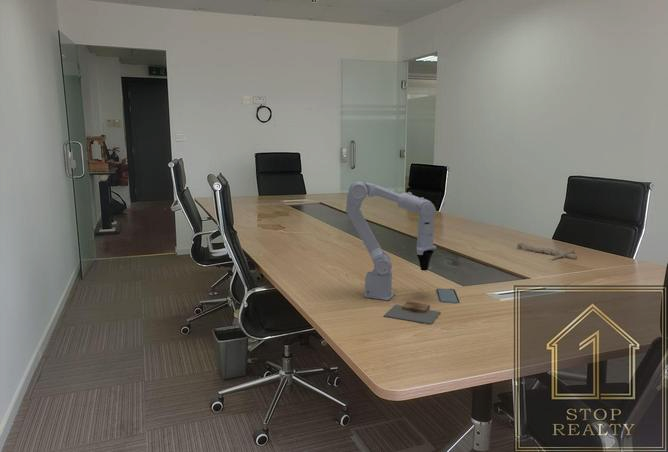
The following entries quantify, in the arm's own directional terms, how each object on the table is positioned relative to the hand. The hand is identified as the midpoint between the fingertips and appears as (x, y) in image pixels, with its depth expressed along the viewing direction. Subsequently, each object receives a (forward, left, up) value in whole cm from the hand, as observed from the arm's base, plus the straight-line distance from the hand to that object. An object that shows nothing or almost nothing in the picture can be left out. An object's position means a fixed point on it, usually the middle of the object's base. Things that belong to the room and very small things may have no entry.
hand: (424, 270), depth 183 cm
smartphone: (+8, +5, -11) cm, 14 cm away
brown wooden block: (+2, -13, -9) cm, 16 cm away
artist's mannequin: (+37, +96, -11) cm, 104 cm away
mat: (+2, -20, -10) cm, 22 cm away
